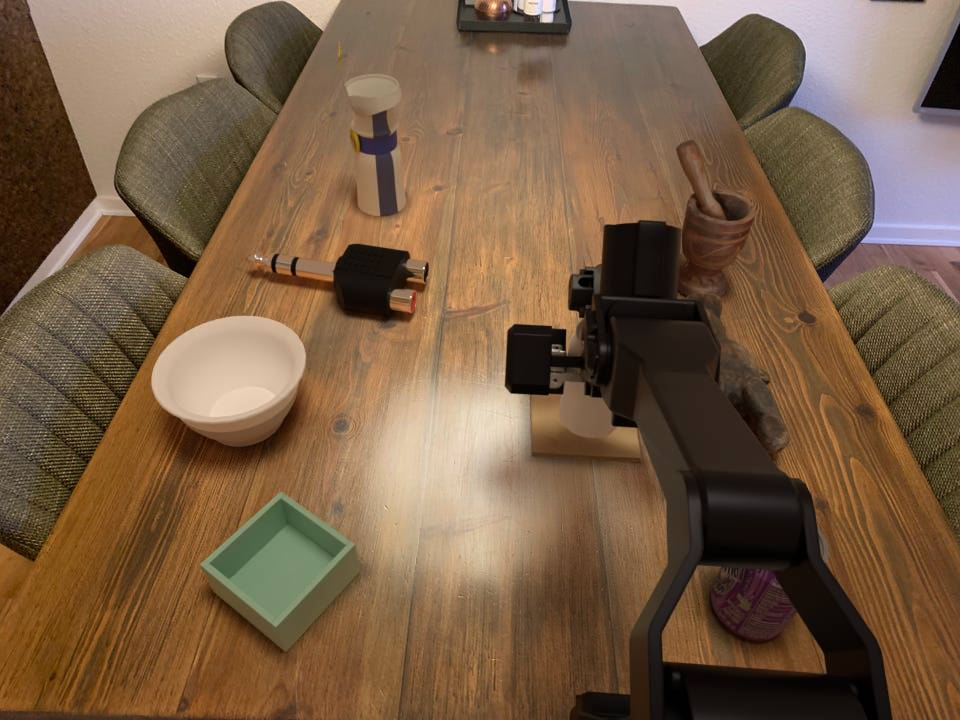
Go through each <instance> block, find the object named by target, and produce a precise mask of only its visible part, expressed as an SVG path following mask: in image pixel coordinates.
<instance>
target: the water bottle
mask: <svg viewBox="0 0 960 720" xmlns="http://www.w3.org/2000/svg"><path fill="white" fill-rule="evenodd" d="M337 55H338V69H339V70H341V68H342V62H343V61H342V45H341V42H340V41H339V42H338V54H337ZM343 88H344V90H345V92H346V94H347V95H348V98H349V99H348V100H349V102H348V103H350V107H351V109H352V111H353V118H352V121H351V123H350V128H349V139H350V140H349V141H350V144H351V148H352V150H353V151H354V152H353V159H354V171H355V180H356V197H357V207H358V209H359V210H360V211H361V212H362V213H364V214H367V215H369V216H374V217H388V216H392V215H396V214H398V213H399V212H401V211H402V210H403V209H405V206H406V205H407V199H406V198H407V197H406V190H405V189H406V188H405V182H404V181H405V180H404V172H403V171H404V170H403V169H404V168H403V158H402V151H401V147H400V145H399V143H398V131H397V130H398V129H399V127H400V121H399V120H398V118H397V117H396V115H395V109H394V108H395V107H396V106H397V105H399V104H400V102H401V101H402V99H403V94H402V93H403V92H402V89H401V86H400V82H399V81H398V80H397V79H396V78H394V77H393V76H390V75H387V74H383V73H382V74H381V73H369V74H362V75H357V76H354V77H352V78H350V79H348V80H346V81H345V83H344V85H343Z"/></svg>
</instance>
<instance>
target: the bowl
mask: <svg viewBox="0 0 960 720" xmlns="http://www.w3.org/2000/svg"><path fill="white" fill-rule="evenodd" d="M306 366H307V353H306V349H305V346H304V343H303V342H302V340H301V338H300V337H299V335H298V334H296V333H295V332H294V330H292V328H290V327H289V326H287V325H285V324H284V323H282V322H279V321H277V320H274V319H271V318H268V317H262V316H256V315H234V316H233V315H232V316H228V317H220V318H216V319H212V320H209V321H207V322H203V323H201V324H199V325H196V326H194V327H193V328H190V329H189V330H186V331H185V332H184V333H182V334H180V335H179V336H177V337H176V338H175V339H173V340H172V342H170V343H169V344H168V345H166V347H165V348H164V349H163V351H162V352H161V353H160V355H159V356H158V358H157V360H156V361H155V363H154V364H153V369H152V373H151V375H150V376H151V379H150V380H151V391H152V393H153V396H154V398H155V400H156V401H157V403H158V404H159V405H160V407H161V408H163V409H164V410H165V411H166V412H168V413H169V414H170V415H172V416H174V417H177V418H178V419H180V420H181V421H182V423H184V425H186V426H187V427H188V428H189V429H191V430H192V431H193V432H195V433H197V434H199V435H202V436H204V437H205V438H208V439H210V440H215V441H216V442H218V443H220V444H222V445H224V446H225V445H226V446H228V447H229V446H230V447H237V448H239V447H240V448H241V447H248V446H252V445H256V444H258V443H261V442H263V441H265V440H267V439H268V438H270V437H271V436H273V435H274V434H275V433H276V432H277V431H278V429H279V428H280V427H281V425H282V424H283V422H284V419H285V418H286V417H287V416H288V413H289V412H290V410H291V408H293V405H294V403H295V400H296V398H297V395H298V391H299V385H300V381H301V379H302V378H303V376H304V373H305V369H306Z"/></svg>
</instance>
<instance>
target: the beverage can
mask: <svg viewBox="0 0 960 720" xmlns="http://www.w3.org/2000/svg"><path fill="white" fill-rule="evenodd" d="M817 528H818V535H819V543H820V551H821V556H822V559H823V561H824V562H825V564H826V565H827V562H828V560H829V556H830V549H829V548H830V547H829V543H828V541H827V538H826V535H824V532H823V531H822V530H821V528H820V527H818V525H817ZM827 566H828V565H827ZM710 601H711V605H712V608H713V610H714V612H715V614H716V617H718V619H719V620H720V622H721V623H722V624H723V625H724V626H726V628H728V629H729V630H730V631H731V632H733V633H735V634H736V635H738V636H739V637H742V638H744V639H747V640H752V641H759V642H760V641H761V642H762V641H763V642H764V641H769V640H772V639H775V638H777V637H779V636H780V635H781V634H782V633H783V632H784V630H786V628H787V627H788V625H789V624H790V623H791V621H792V620H793V619H794V617H795V616H796V615H797V614H798V612H797V611H796V609H795V608H794V606H793V605H792V603H791V602H790V600H789V598H788V597H787V595H786V594H785V592H784V591H783V589H782V588H781V586H780V584H779V583H778V581H777V580H776V578H775V575H774V572H773V571H772V570H758V569H743V568H729V567H720V570H719V572H718V573H717V574H716V576H715V579H714V581H713V582H712V584H711V589H710Z"/></svg>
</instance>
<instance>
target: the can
mask: <svg viewBox="0 0 960 720" xmlns="http://www.w3.org/2000/svg"><path fill="white" fill-rule="evenodd" d="M583 321H584V318H582V319H581V320H580V321H579V322H578V323H577V325H576V328H575V330H574V332H573V333H572V334H571V337H570V339H569V343H568V349H567V356H581V354H582V351H583V349H584V341H581V329H582V326H583ZM567 370H569V373H571V370H573V372H574V374H575V372H576V371H578V374H579V373H580V371H581V370H580V368H571V367H566V371H567ZM611 415H612V412H611V411H610V410H609V409H608V407H607V405H606V404H605V402H604V400H603V398H594V397H590V396H587V395H584V382H569V381H565V384H564V392H563V395H561V399H560V406H559V418H560V420H561V422H562V423H563V425H564V426H565V427H566V428H567V429H568V430H570V431H571V432H572V433H574V434H576V435H578V436H580V437H584V438H601V437H604V436H607V435H609V434H611V433H612V432H613V431H614V430H615V429H616V428H617V427H614V426H612V425H611Z"/></svg>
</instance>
